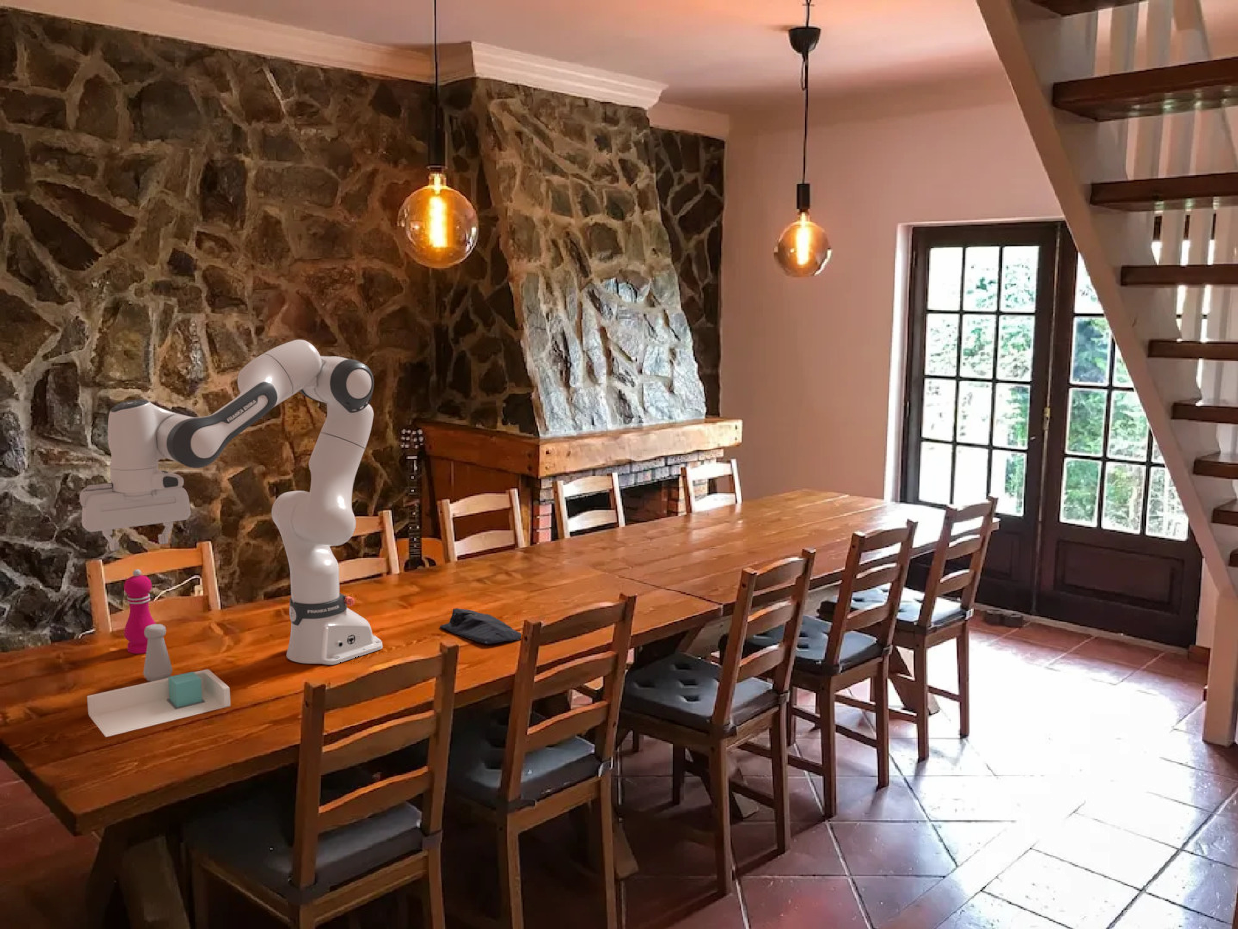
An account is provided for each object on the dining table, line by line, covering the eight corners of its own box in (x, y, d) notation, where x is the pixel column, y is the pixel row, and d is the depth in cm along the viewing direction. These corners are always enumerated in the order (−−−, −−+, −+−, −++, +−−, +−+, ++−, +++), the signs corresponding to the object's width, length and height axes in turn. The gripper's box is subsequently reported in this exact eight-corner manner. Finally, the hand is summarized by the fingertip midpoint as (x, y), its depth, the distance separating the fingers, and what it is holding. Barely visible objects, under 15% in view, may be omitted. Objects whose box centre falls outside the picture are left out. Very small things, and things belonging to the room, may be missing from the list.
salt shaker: (176, 676, 230) (173, 621, 228) (166, 686, 225) (163, 630, 222) (150, 676, 230) (146, 621, 228) (139, 686, 224) (135, 630, 222)
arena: (209, 690, 223) (207, 669, 222) (230, 710, 213) (229, 687, 212) (88, 719, 207) (87, 696, 207) (106, 741, 198) (104, 717, 197)
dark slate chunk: (480, 652, 250) (479, 634, 249) (435, 628, 267) (435, 610, 266) (531, 640, 260) (532, 622, 259) (486, 617, 276) (486, 600, 276)
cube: (194, 693, 218) (192, 671, 217) (202, 701, 214) (200, 678, 214) (169, 699, 215) (168, 677, 214) (177, 707, 211) (176, 684, 210)
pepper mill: (164, 648, 247) (159, 568, 244) (136, 657, 241) (130, 575, 238) (147, 642, 251) (142, 563, 248) (119, 650, 245) (113, 570, 242)
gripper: (82, 488, 198) (87, 557, 201) (191, 477, 211) (194, 542, 214) (74, 483, 203) (79, 551, 205) (181, 472, 216) (185, 536, 219)
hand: (139, 546), depth 210 cm, fingers open, 8 cm apart
